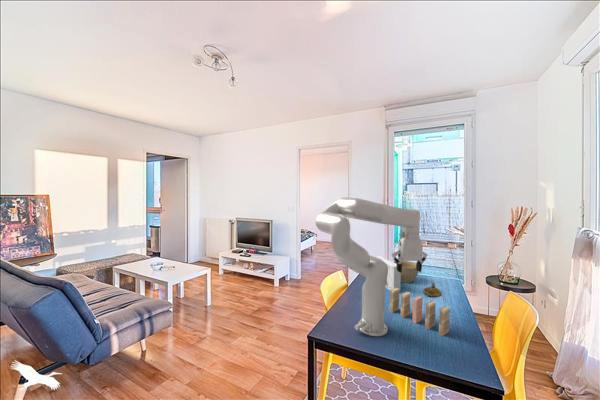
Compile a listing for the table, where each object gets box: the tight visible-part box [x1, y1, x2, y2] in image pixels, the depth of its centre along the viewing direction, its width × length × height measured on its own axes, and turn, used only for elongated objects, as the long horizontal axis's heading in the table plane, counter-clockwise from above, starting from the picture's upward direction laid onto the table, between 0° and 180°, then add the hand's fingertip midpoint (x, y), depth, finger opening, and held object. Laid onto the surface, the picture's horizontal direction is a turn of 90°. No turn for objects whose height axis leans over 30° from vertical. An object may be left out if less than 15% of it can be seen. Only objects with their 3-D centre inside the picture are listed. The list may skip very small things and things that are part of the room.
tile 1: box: [400, 291, 412, 318], centre depth 124 cm, size 2×5×11 cm, turn 126°
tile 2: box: [411, 295, 424, 324], centre depth 120 cm, size 2×5×11 cm, turn 125°
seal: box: [422, 282, 442, 298], centre depth 151 cm, size 9×5×15 cm
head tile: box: [389, 288, 400, 314], centre depth 129 cm, size 2×5×11 cm, turn 126°
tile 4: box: [438, 305, 451, 337], centre depth 110 cm, size 2×5×11 cm, turn 126°
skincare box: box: [375, 255, 402, 293], centre depth 161 cm, size 21×6×16 cm, turn 17°
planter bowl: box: [393, 260, 419, 284], centre depth 170 cm, size 16×16×11 cm
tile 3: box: [424, 300, 437, 330], centre depth 115 cm, size 2×5×11 cm, turn 126°
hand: (408, 271), depth 122 cm, fingers open, 9 cm apart
